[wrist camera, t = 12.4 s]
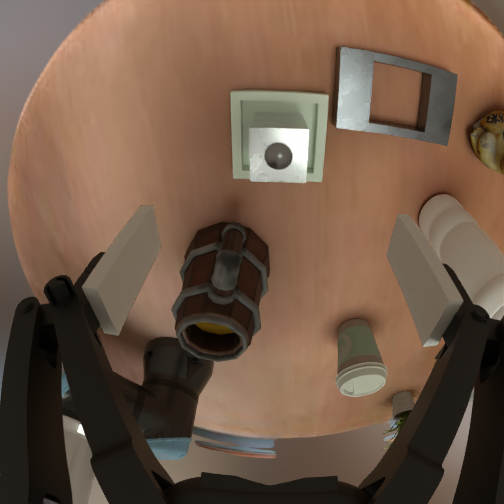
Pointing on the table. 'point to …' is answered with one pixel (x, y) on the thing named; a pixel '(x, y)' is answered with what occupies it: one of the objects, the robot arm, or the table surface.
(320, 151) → the parts tray
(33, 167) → the table surface
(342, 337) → the coffee cup
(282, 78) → the table surface
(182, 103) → the table surface
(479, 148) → the decorative figurine
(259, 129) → the block
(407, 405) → the house plant
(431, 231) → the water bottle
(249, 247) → the mug
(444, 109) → the grey rectangular frame
